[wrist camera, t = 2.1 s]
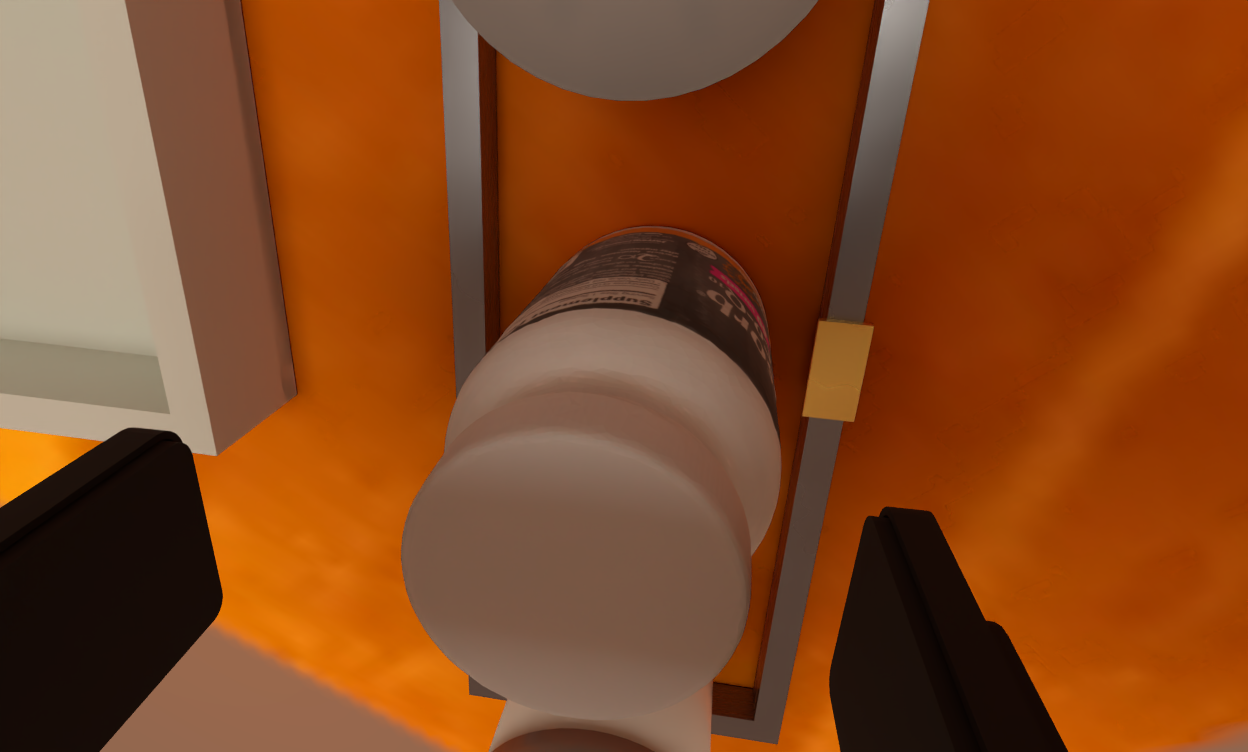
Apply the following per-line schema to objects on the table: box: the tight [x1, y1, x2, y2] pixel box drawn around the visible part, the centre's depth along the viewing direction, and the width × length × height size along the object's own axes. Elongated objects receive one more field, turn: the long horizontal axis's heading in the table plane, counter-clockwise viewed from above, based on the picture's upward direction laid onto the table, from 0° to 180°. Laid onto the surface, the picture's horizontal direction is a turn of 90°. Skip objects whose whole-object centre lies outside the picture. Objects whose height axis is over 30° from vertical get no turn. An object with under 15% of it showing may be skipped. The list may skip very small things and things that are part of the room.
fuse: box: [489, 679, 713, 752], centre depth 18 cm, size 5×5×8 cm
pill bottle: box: [401, 226, 781, 720], centre depth 14 cm, size 6×6×10 cm
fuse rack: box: [439, 0, 929, 744], centre depth 18 cm, size 10×25×1 cm, turn 177°
